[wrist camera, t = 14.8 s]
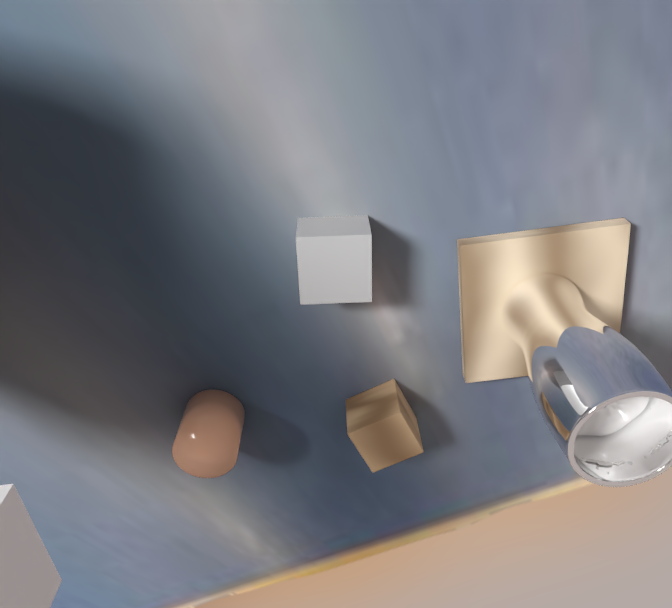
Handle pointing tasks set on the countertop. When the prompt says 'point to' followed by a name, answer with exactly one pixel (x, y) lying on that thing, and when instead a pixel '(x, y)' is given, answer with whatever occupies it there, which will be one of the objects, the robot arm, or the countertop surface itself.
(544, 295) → the silver metal cup
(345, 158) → the countertop surface
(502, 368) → the beech board
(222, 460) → the peach rounded capsule
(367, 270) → the grey plastic box
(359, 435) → the oak cube
